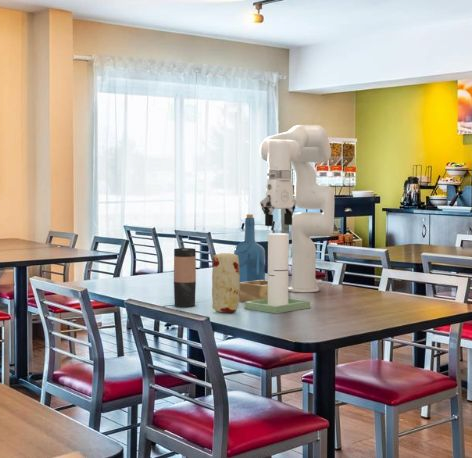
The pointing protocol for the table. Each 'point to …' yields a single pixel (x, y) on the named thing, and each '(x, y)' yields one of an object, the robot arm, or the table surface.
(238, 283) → the food model
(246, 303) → the tray
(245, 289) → the crate
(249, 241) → the wine bottle
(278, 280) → the cylindrical container
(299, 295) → the table surface
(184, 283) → the travel mug
